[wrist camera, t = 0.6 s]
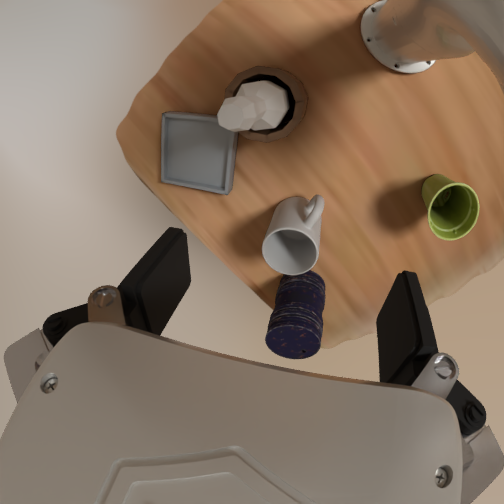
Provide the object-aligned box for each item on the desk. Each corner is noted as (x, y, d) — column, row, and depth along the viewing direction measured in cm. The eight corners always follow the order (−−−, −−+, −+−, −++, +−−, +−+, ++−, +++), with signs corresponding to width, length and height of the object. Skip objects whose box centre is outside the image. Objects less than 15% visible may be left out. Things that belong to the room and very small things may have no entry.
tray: (169, 111, 43) (162, 113, 41) (240, 118, 41) (235, 120, 39) (167, 177, 51) (161, 182, 49) (232, 189, 49) (227, 195, 47)
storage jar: (269, 284, 60) (253, 338, 48) (302, 259, 54) (292, 316, 42) (301, 310, 62) (292, 365, 50) (335, 289, 56) (333, 347, 44)
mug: (304, 246, 52) (297, 284, 44) (265, 222, 51) (251, 257, 43) (342, 198, 45) (345, 231, 36) (300, 171, 44) (293, 196, 36)
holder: (247, 66, 36) (228, 63, 29) (312, 76, 35) (309, 74, 28) (239, 124, 42) (220, 134, 35) (300, 135, 41) (295, 148, 34)
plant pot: (465, 173, 36) (487, 193, 29) (448, 220, 41) (465, 246, 34) (421, 157, 37) (440, 174, 30) (406, 207, 43) (419, 232, 36)
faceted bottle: (298, 85, 36) (274, 86, 19) (290, 122, 40) (261, 159, 23) (257, 77, 37) (198, 77, 19) (251, 115, 41) (192, 146, 23)
